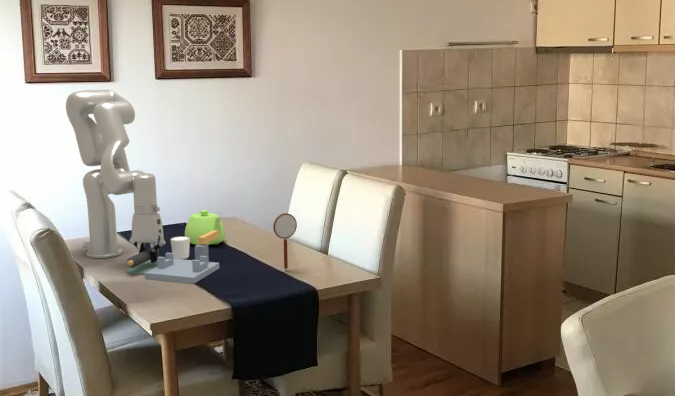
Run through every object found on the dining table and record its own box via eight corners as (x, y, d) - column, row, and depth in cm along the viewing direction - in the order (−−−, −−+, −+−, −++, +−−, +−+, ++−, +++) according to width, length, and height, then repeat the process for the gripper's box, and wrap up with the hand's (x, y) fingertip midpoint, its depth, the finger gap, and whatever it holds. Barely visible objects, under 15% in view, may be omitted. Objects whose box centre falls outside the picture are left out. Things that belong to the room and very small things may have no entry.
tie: (198, 244, 253) (198, 237, 253) (213, 236, 264) (213, 230, 263) (203, 244, 253) (203, 237, 252) (218, 237, 263) (218, 230, 263)
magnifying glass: (275, 273, 249) (274, 215, 245) (273, 272, 251) (272, 214, 247) (298, 269, 253) (297, 212, 249) (296, 268, 255) (295, 211, 251)
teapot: (238, 246, 285) (237, 212, 282) (204, 252, 275) (203, 218, 273) (209, 235, 301) (207, 204, 299) (175, 241, 292) (174, 209, 289)
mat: (125, 272, 250) (125, 270, 250) (151, 260, 265) (151, 258, 265) (146, 274, 248) (146, 273, 248) (171, 262, 263) (171, 260, 263)
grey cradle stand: (145, 278, 244) (143, 254, 242) (173, 264, 261) (172, 241, 259) (194, 283, 238) (192, 258, 237) (219, 268, 255) (218, 245, 254)
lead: (151, 255, 262) (151, 245, 261) (160, 256, 260) (160, 246, 260) (125, 268, 246) (124, 257, 246) (134, 269, 245) (134, 258, 244)
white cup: (186, 260, 266) (185, 241, 264) (168, 259, 267) (167, 240, 266) (193, 255, 272) (192, 236, 271) (176, 254, 274) (175, 235, 272)
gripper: (172, 209, 254) (175, 260, 257) (130, 206, 259) (133, 256, 262) (161, 213, 247) (163, 266, 250) (118, 210, 252) (121, 262, 255)
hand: (148, 261), depth 256 cm, fingers closed on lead, 3 cm apart
